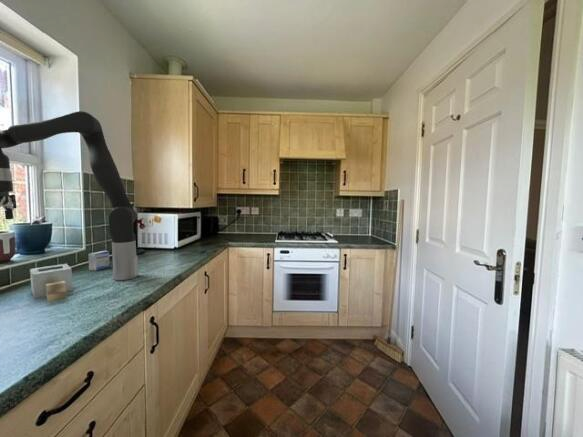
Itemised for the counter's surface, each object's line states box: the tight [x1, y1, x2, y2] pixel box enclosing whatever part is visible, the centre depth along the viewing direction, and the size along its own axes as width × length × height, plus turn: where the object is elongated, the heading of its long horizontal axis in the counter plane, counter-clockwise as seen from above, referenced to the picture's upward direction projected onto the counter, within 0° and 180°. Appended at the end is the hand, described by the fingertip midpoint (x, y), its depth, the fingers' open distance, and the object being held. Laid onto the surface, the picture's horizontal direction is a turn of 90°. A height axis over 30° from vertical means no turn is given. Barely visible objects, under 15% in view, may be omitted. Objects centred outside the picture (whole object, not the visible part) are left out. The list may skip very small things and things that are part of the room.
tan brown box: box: [46, 281, 67, 303], centre depth 94 cm, size 5×3×6 cm, turn 139°
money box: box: [29, 263, 74, 299], centre depth 102 cm, size 11×11×9 cm
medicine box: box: [87, 250, 110, 271], centre depth 133 cm, size 8×4×9 cm, turn 168°
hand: (2, 220), depth 104 cm, fingers open, 8 cm apart
